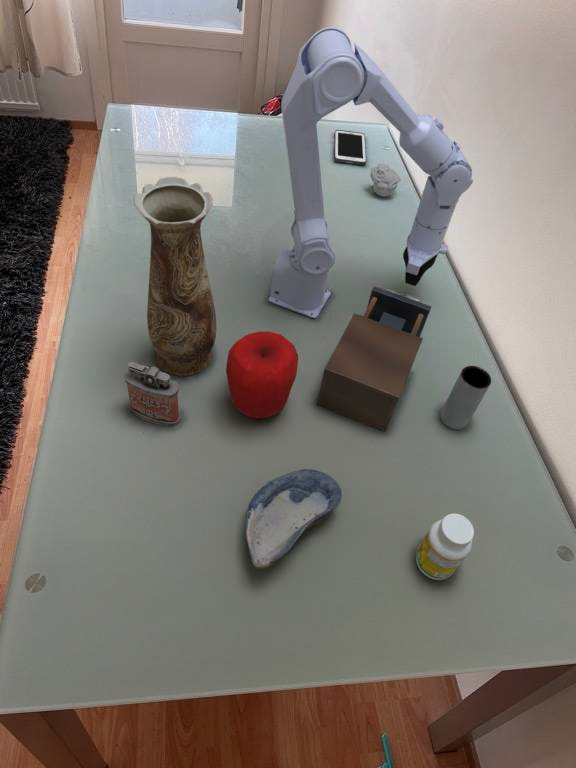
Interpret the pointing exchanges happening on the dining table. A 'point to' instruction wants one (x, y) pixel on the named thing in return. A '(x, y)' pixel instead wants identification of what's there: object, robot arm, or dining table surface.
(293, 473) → the seashell
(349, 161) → the cell phone
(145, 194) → the vase
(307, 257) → the robot arm
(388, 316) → the block
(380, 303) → the drawer
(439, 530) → the supplement bottle
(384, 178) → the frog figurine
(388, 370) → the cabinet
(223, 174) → the dining table surface
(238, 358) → the apple
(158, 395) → the lighter
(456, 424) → the gray cylindrical tube
